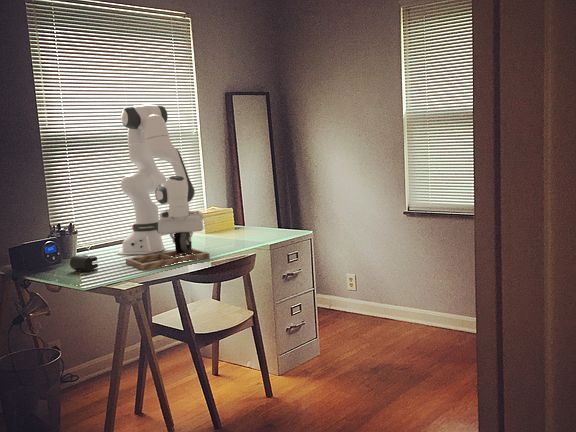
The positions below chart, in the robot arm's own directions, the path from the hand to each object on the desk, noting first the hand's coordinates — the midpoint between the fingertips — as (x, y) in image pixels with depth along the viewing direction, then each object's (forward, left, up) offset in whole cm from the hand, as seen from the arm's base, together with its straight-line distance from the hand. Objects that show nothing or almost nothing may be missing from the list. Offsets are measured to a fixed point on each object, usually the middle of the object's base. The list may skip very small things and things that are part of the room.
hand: (182, 242), depth 281 cm
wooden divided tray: (-6, -4, -8) cm, 11 cm away
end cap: (-40, -15, -8) cm, 44 cm away
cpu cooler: (+1, 0, -5) cm, 5 cm away
